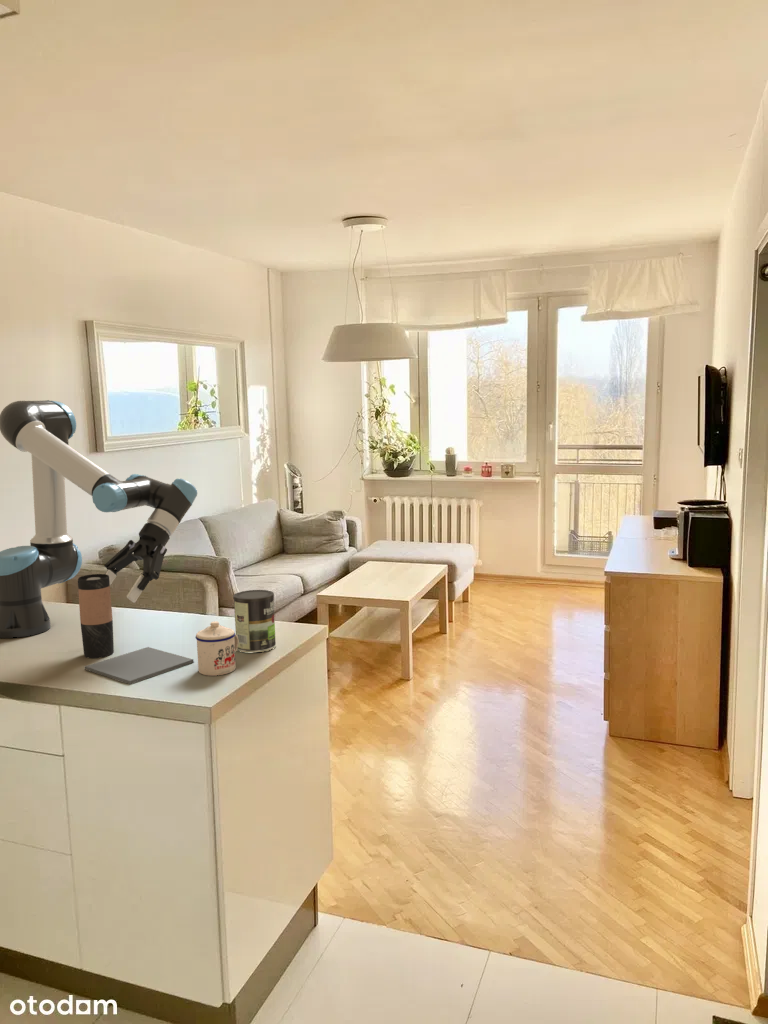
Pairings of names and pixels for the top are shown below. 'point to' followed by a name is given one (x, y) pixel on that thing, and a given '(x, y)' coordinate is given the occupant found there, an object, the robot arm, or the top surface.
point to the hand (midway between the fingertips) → (114, 596)
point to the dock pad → (139, 665)
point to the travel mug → (96, 615)
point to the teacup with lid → (216, 650)
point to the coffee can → (255, 620)
